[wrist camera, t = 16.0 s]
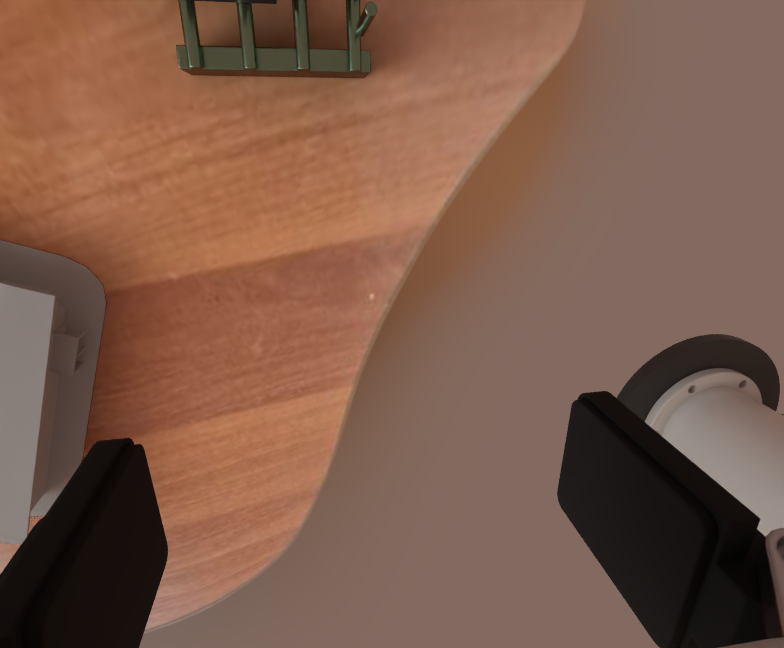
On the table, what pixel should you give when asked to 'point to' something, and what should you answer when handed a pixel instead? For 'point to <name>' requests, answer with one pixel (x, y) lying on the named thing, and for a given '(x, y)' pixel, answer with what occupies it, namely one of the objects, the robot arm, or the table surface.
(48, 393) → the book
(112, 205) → the table surface
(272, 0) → the box
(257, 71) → the rack
